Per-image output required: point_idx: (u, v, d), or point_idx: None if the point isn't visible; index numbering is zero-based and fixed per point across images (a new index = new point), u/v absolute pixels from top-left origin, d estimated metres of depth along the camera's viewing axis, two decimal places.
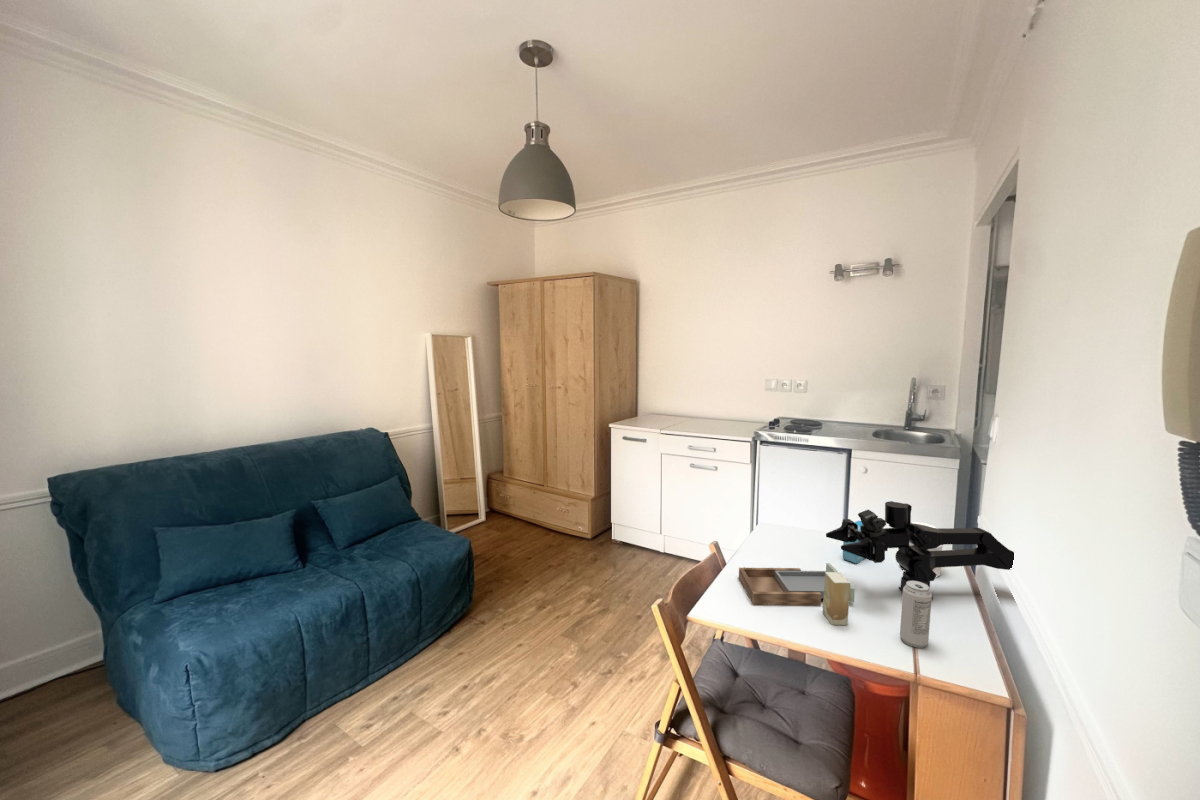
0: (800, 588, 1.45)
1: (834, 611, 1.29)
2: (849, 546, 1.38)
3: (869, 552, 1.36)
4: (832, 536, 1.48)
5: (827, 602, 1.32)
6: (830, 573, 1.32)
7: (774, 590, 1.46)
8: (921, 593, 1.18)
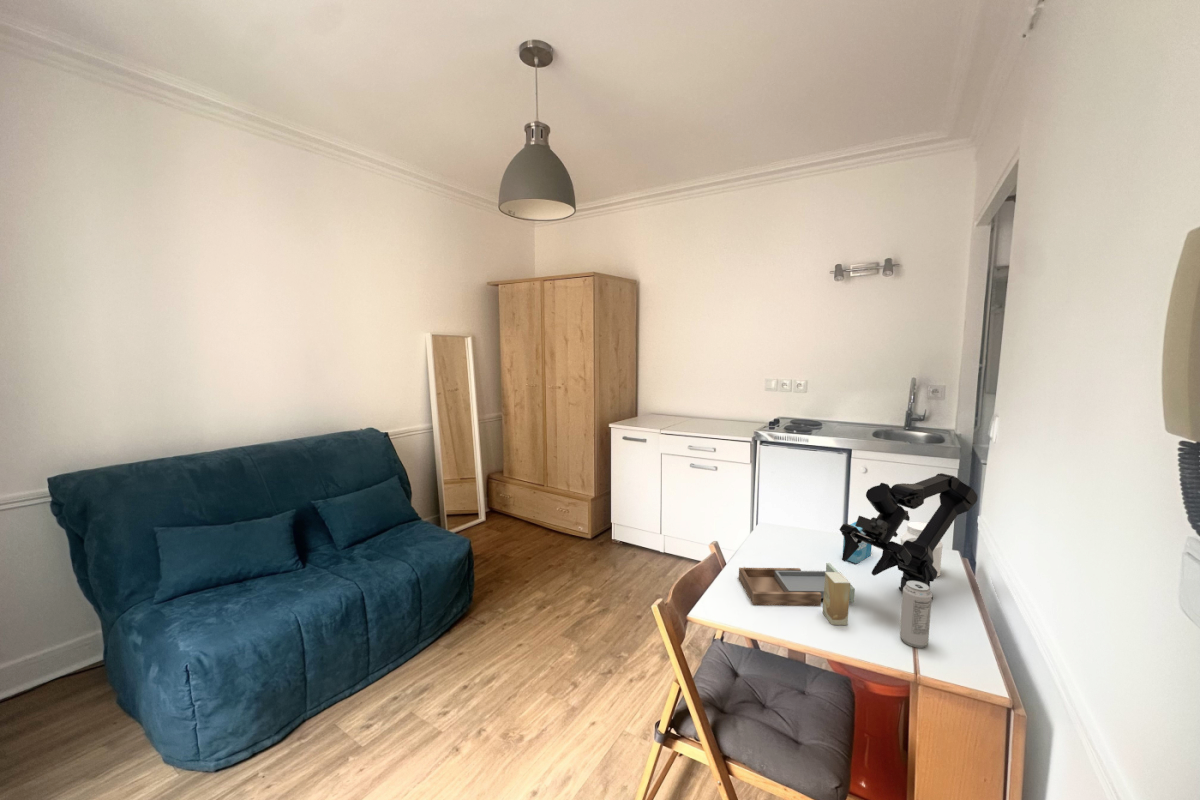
0: (800, 588, 1.45)
1: (834, 611, 1.29)
2: (878, 569, 1.29)
3: (896, 560, 1.28)
4: (848, 556, 1.38)
5: (827, 602, 1.32)
6: (830, 573, 1.32)
7: (774, 590, 1.46)
8: (921, 593, 1.18)
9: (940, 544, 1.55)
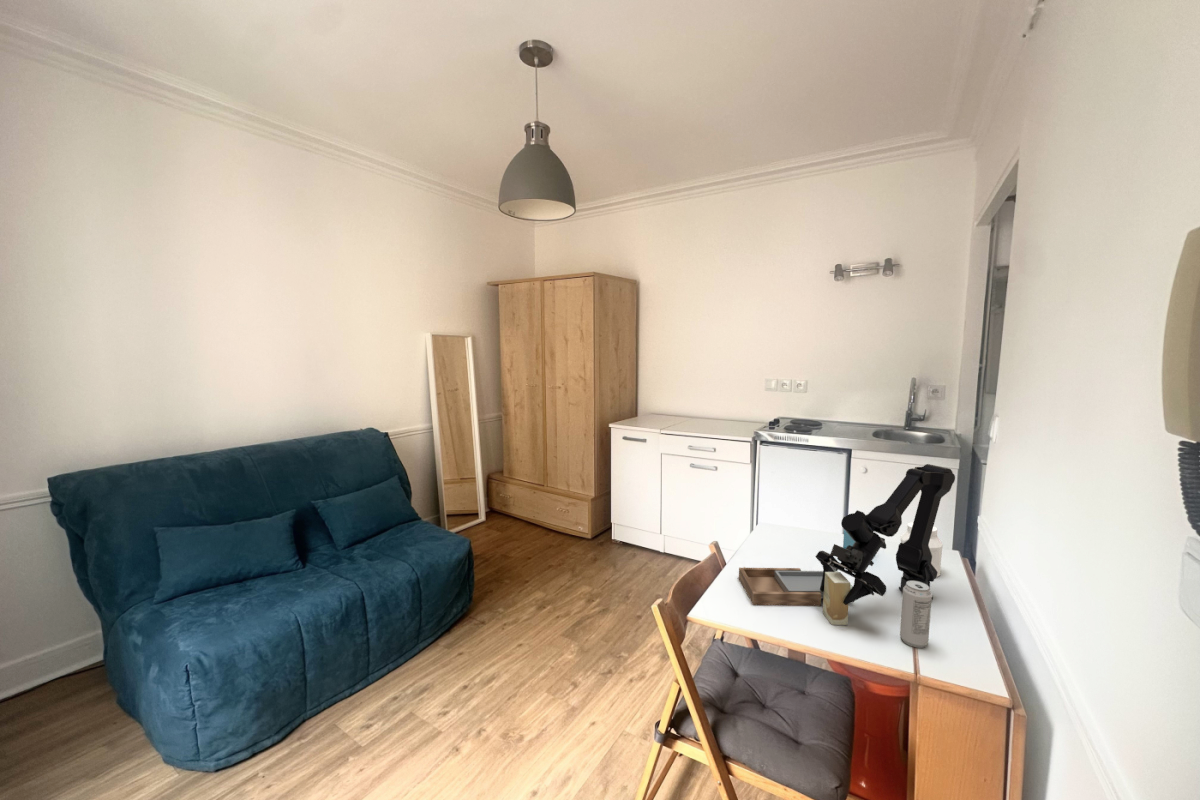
0: (800, 588, 1.45)
1: (834, 611, 1.29)
2: (849, 598, 1.27)
3: (868, 590, 1.26)
4: None
5: (827, 602, 1.32)
6: (830, 573, 1.32)
7: (774, 590, 1.46)
8: (921, 593, 1.18)
9: (940, 544, 1.55)
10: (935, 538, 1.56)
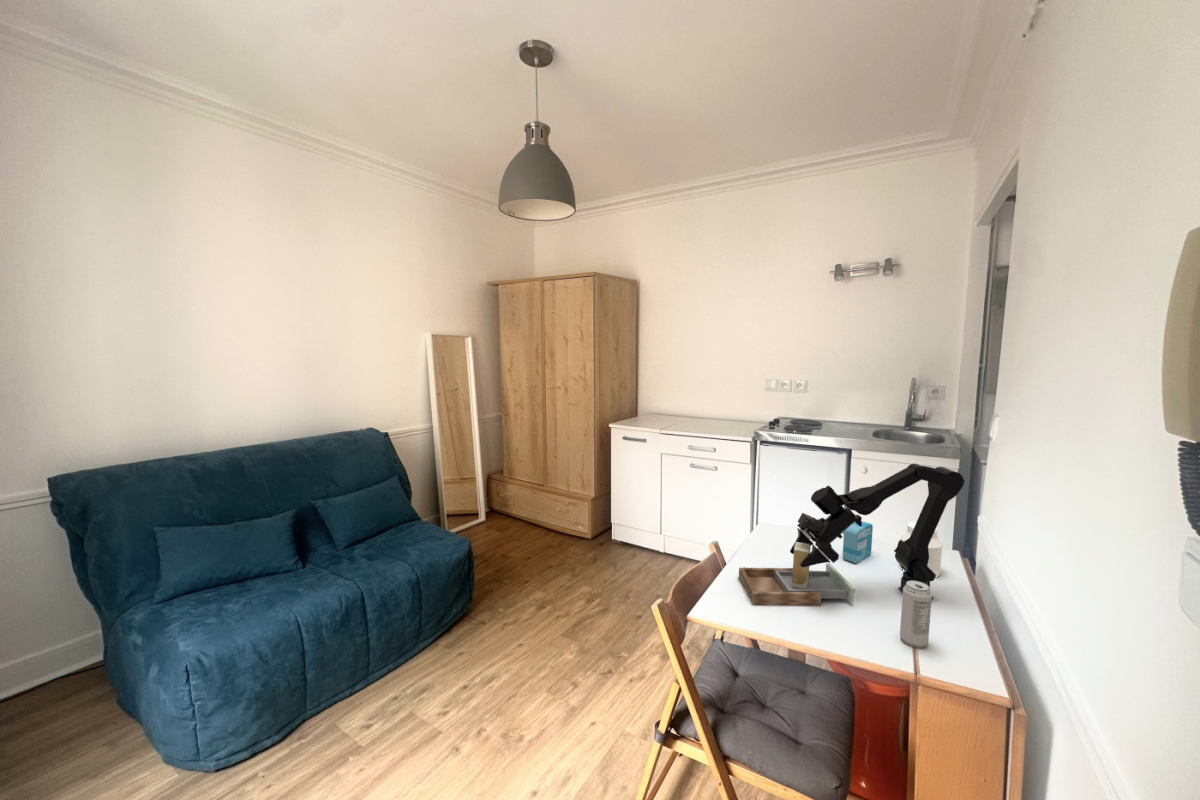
0: None
1: (793, 575, 1.45)
2: (806, 562, 1.41)
3: (823, 557, 1.38)
4: None
5: None
6: (798, 543, 1.47)
7: (774, 590, 1.46)
8: (921, 593, 1.18)
9: (940, 544, 1.55)
10: (935, 538, 1.56)
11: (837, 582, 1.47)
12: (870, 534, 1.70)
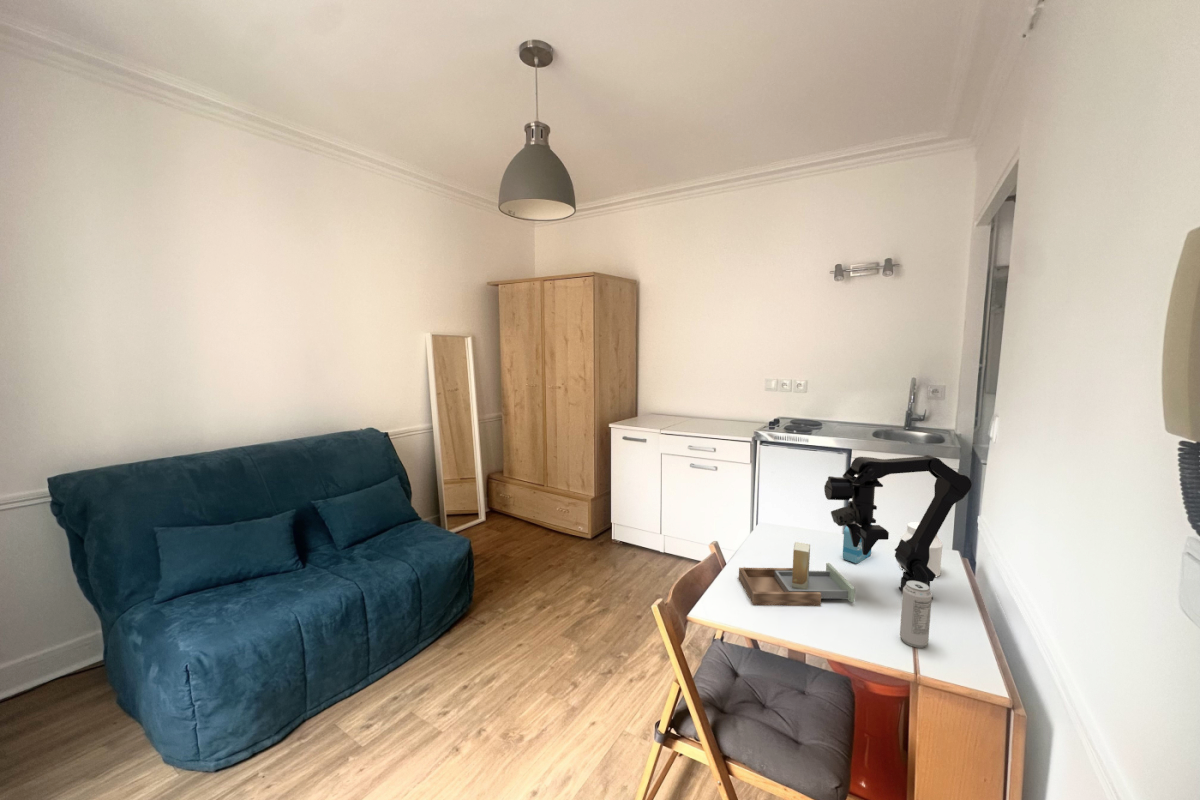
0: None
1: (793, 575, 1.45)
2: (865, 549, 1.41)
3: None
4: (857, 541, 1.48)
5: None
6: (798, 543, 1.47)
7: (774, 590, 1.46)
8: (921, 593, 1.18)
9: (940, 544, 1.55)
10: (935, 538, 1.56)
11: (837, 582, 1.47)
12: None
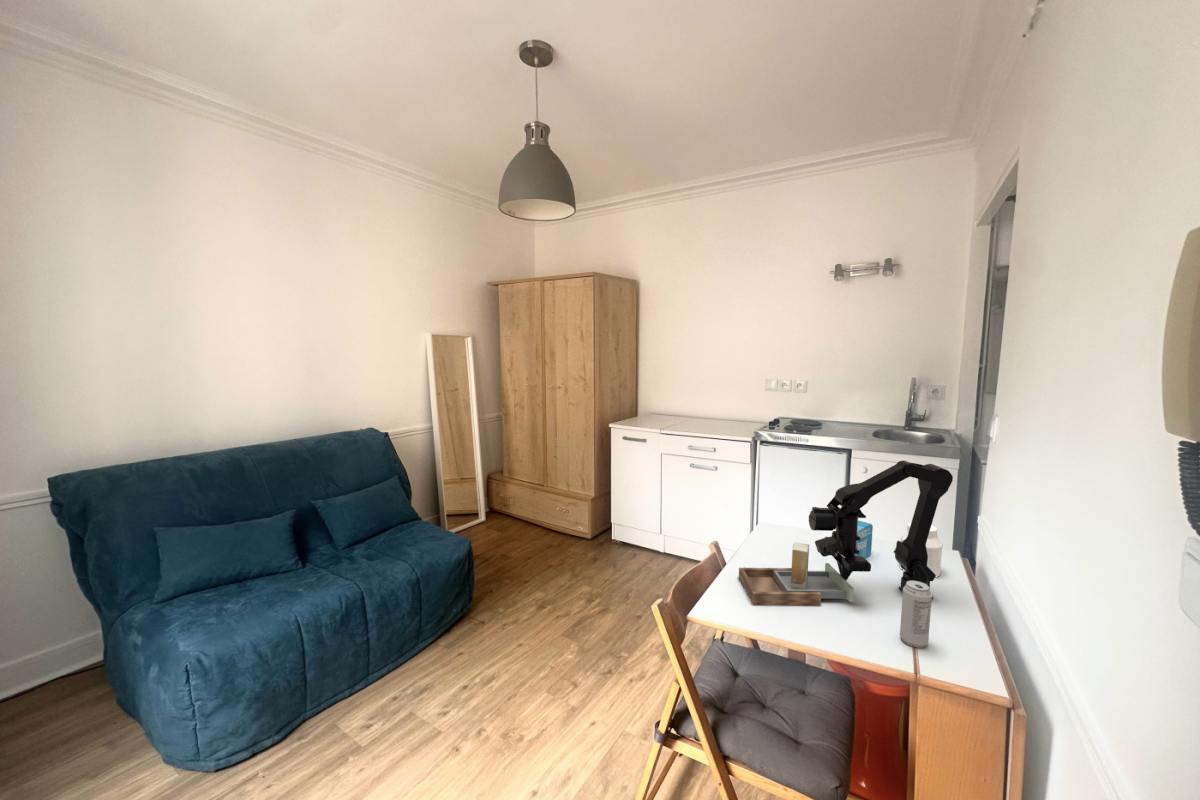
0: None
1: (792, 575, 1.45)
2: (844, 575, 1.45)
3: None
4: None
5: None
6: (797, 543, 1.47)
7: (774, 590, 1.46)
8: (921, 593, 1.18)
9: (940, 544, 1.55)
10: (935, 538, 1.56)
11: (836, 582, 1.47)
12: (870, 534, 1.70)
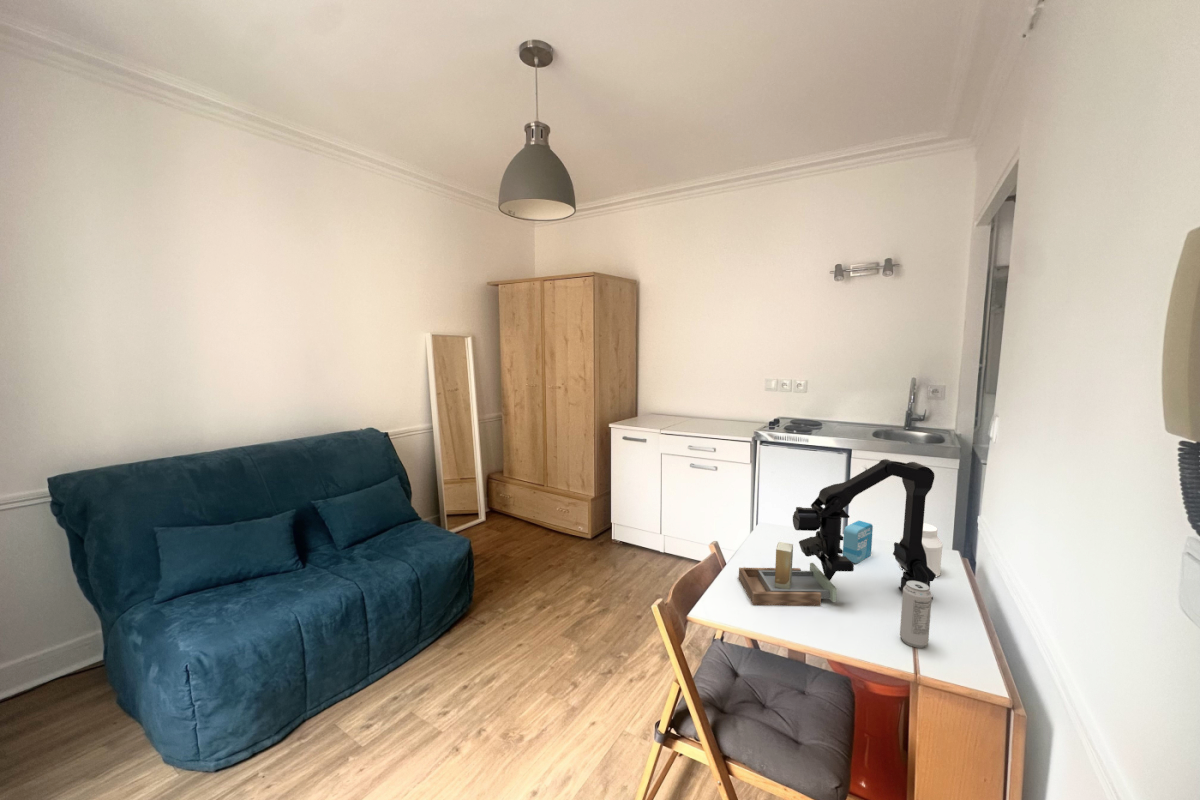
0: None
1: (776, 575, 1.45)
2: (827, 575, 1.45)
3: None
4: None
5: None
6: (781, 543, 1.48)
7: None
8: (921, 593, 1.18)
9: (940, 544, 1.55)
10: (935, 538, 1.56)
11: (820, 582, 1.47)
12: (870, 534, 1.70)
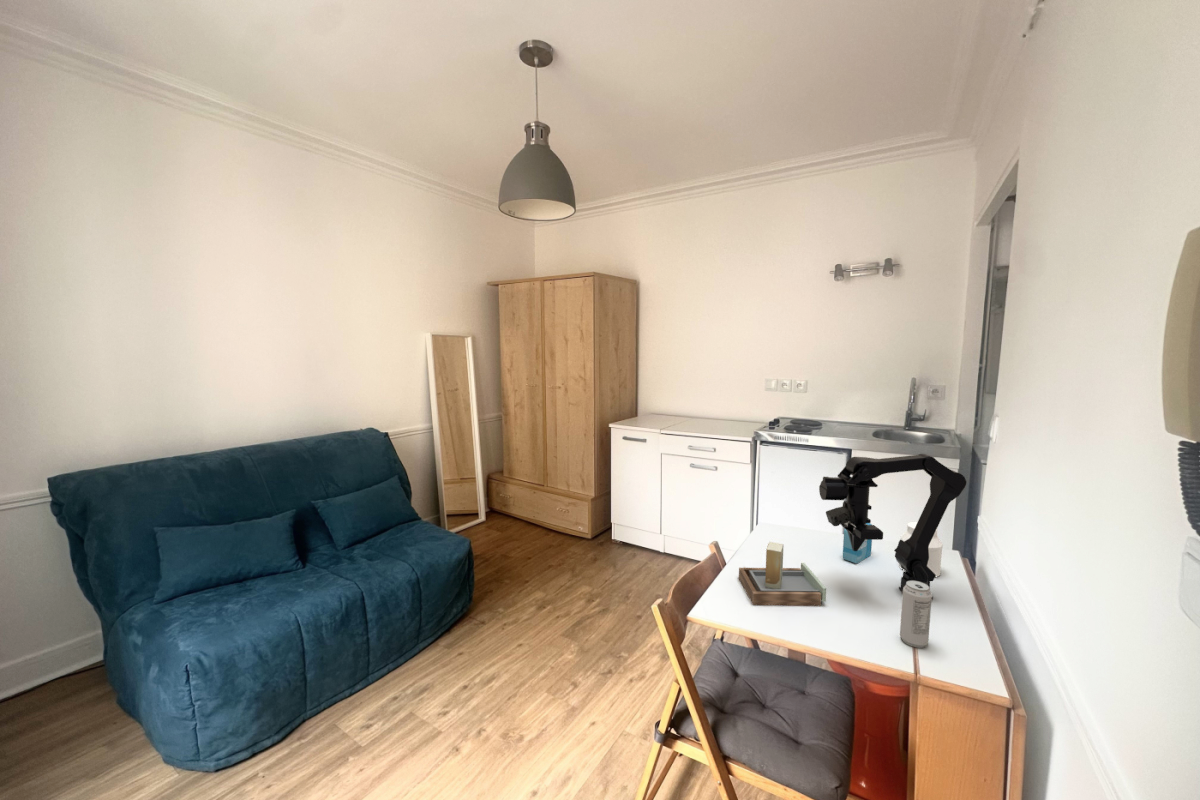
0: None
1: (766, 575, 1.45)
2: (855, 545, 1.44)
3: None
4: None
5: None
6: (771, 543, 1.48)
7: None
8: (921, 593, 1.18)
9: (940, 544, 1.55)
10: (935, 538, 1.56)
11: (810, 582, 1.47)
12: None
